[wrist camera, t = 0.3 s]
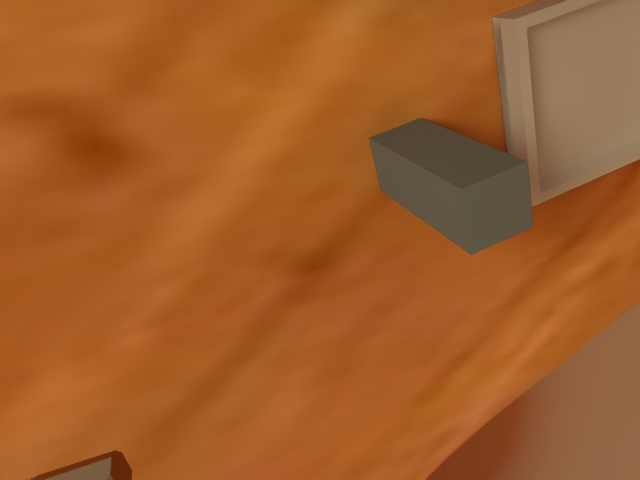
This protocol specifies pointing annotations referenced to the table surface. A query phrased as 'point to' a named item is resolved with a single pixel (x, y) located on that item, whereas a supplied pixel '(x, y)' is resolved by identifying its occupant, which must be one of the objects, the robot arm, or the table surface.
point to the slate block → (454, 183)
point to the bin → (570, 89)
